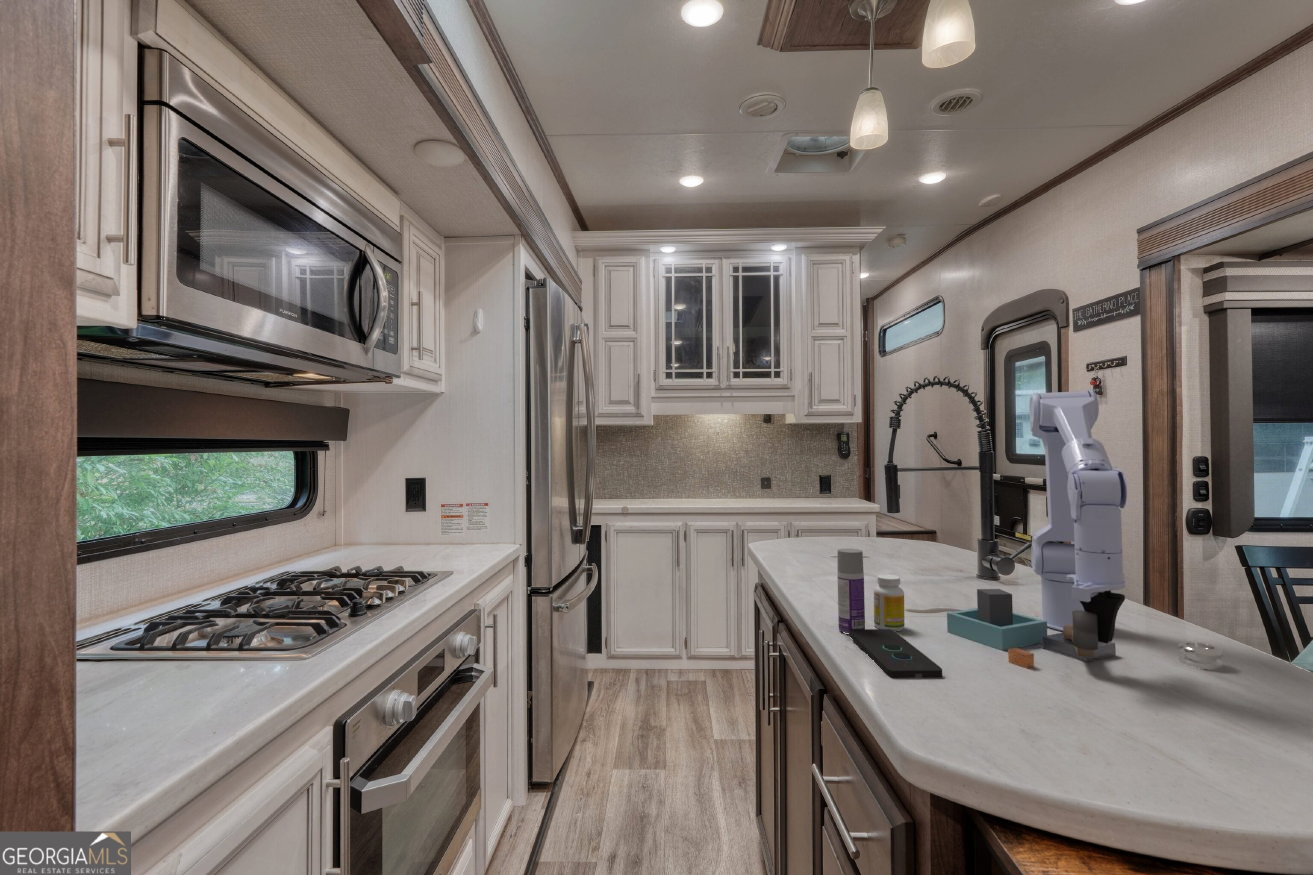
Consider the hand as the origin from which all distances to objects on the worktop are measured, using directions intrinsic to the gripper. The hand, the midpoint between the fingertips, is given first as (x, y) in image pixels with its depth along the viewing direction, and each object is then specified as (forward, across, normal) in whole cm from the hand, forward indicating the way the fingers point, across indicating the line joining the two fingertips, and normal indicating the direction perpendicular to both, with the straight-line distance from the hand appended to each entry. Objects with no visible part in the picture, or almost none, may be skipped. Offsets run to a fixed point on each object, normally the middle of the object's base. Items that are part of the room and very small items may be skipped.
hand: (1101, 640), depth 87 cm
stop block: (+4, -5, -17) cm, 18 cm away
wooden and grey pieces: (+5, -2, -7) cm, 8 cm away
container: (+5, +13, -35) cm, 37 cm away
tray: (+5, -5, -17) cm, 18 cm away
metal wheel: (+5, -15, +8) cm, 18 cm away
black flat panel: (+5, +18, -23) cm, 30 cm away
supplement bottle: (+5, +5, -32) cm, 33 cm away
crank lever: (+2, -3, -3) cm, 5 cm away
